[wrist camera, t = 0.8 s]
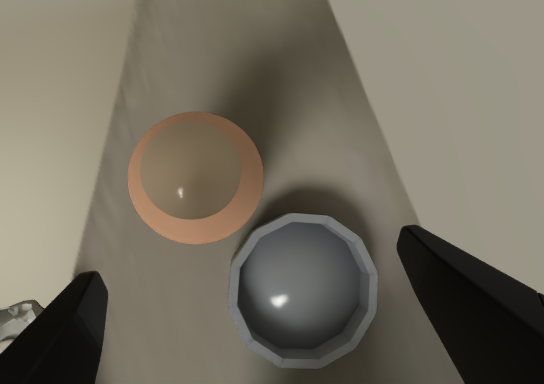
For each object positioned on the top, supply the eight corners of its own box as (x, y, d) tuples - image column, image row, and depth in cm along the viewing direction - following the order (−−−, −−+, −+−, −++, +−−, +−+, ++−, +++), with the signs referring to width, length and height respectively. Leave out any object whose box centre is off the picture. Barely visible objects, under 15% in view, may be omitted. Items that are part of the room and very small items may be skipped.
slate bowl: (384, 311, 25) (401, 321, 23) (266, 379, 24) (270, 397, 21) (327, 192, 26) (337, 189, 23) (206, 251, 24) (203, 255, 22)
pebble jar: (264, 211, 25) (294, 206, 13) (191, 246, 24) (150, 277, 12) (230, 141, 25) (229, 70, 13) (157, 174, 24) (81, 130, 12)
